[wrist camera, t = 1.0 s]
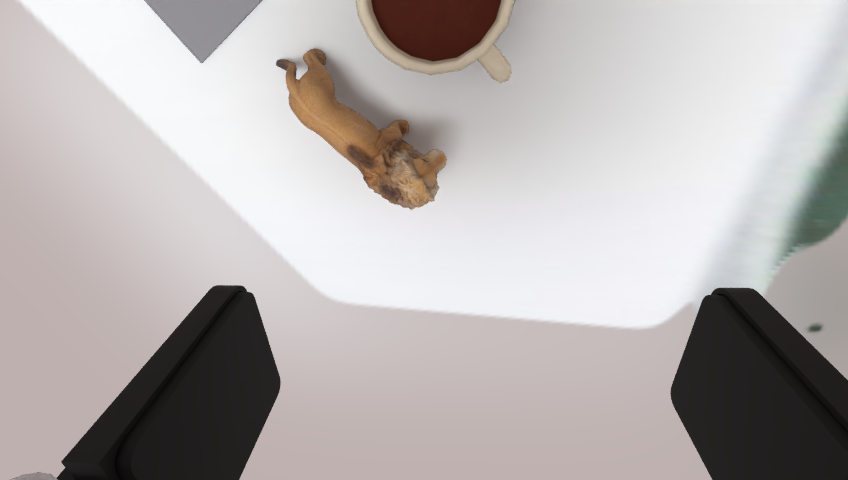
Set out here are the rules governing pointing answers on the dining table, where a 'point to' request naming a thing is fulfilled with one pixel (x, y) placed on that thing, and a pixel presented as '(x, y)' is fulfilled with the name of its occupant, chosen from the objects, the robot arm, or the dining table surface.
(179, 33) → the far square
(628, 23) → the dining table surface
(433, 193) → the lion figurine
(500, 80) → the character mug
